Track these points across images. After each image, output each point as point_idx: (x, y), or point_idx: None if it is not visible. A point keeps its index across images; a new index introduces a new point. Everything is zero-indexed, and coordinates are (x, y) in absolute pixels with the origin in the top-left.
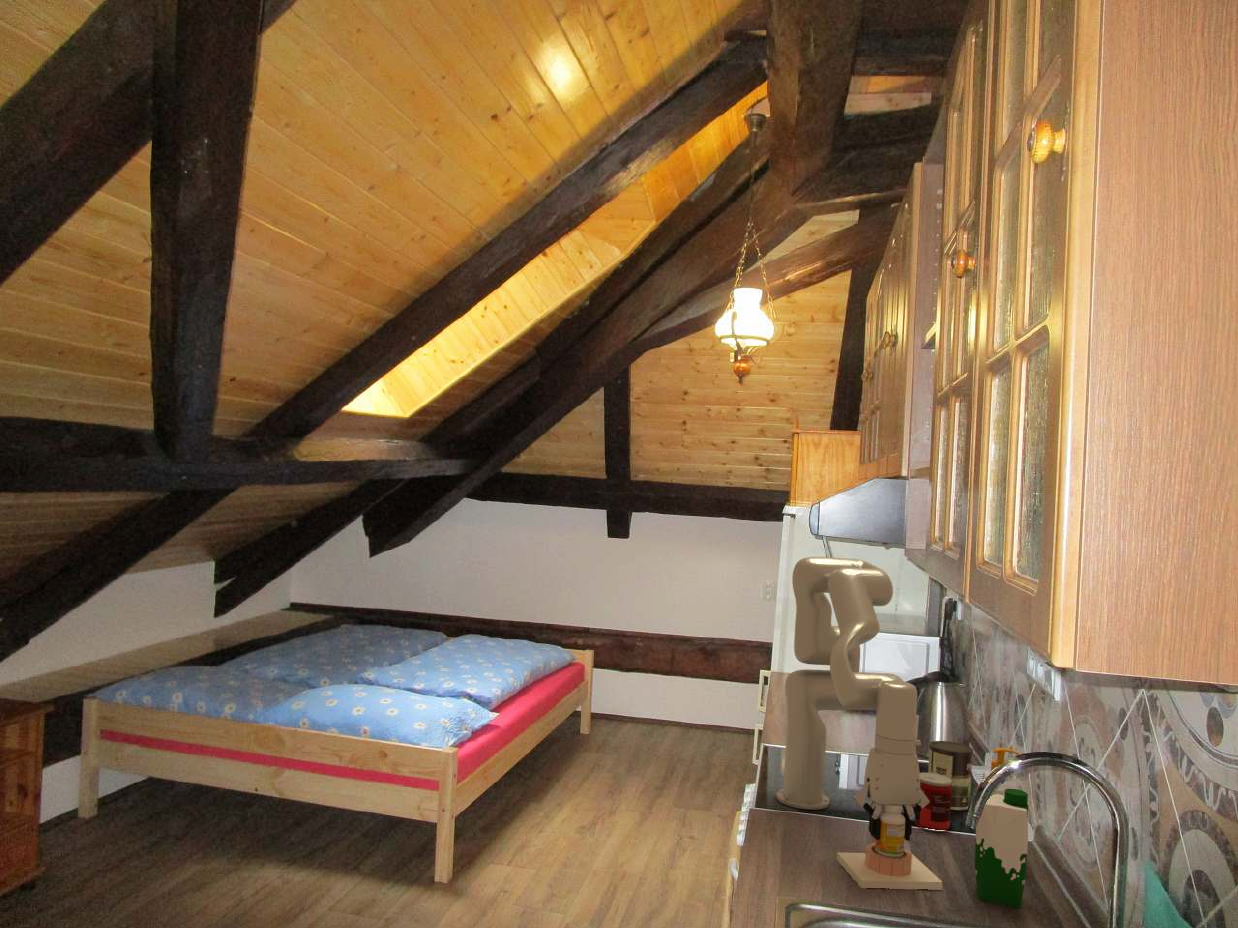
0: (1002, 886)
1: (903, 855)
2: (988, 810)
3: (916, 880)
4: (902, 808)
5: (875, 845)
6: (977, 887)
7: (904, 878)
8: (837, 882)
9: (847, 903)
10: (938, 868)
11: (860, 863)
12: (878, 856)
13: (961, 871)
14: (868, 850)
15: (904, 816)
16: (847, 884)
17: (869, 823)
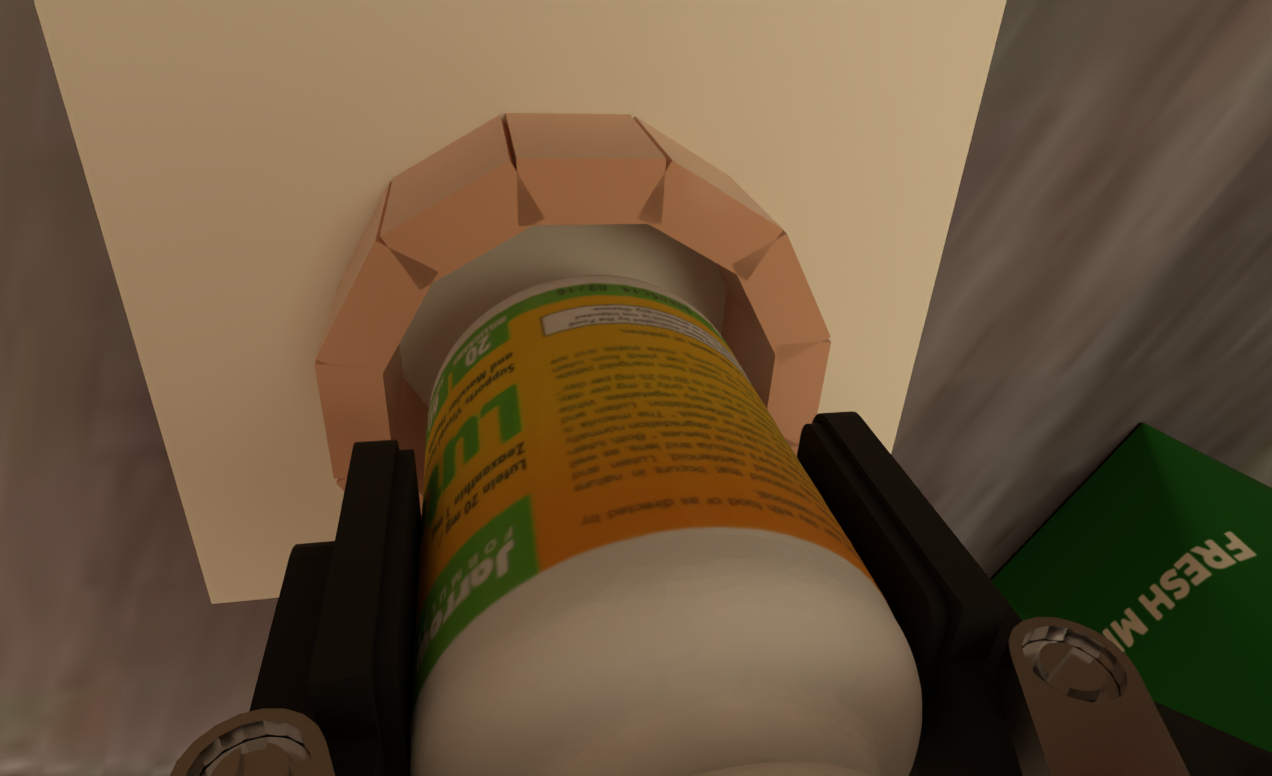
0: None
1: (756, 342)
2: None
3: None
4: (1034, 745)
5: (429, 414)
6: (1024, 618)
7: None
8: (21, 490)
9: (74, 752)
10: (1094, 145)
11: (289, 278)
12: None
13: (1230, 196)
14: (334, 413)
15: (939, 711)
16: (116, 512)
17: (276, 635)
